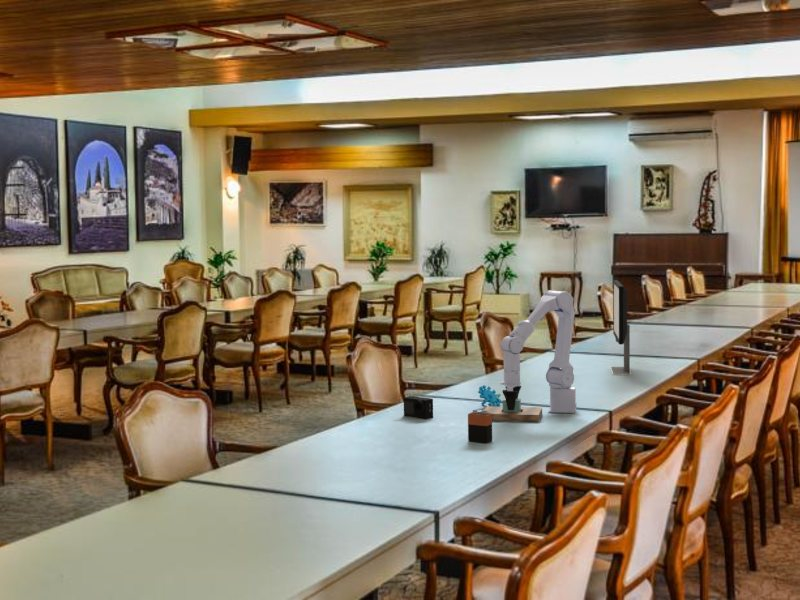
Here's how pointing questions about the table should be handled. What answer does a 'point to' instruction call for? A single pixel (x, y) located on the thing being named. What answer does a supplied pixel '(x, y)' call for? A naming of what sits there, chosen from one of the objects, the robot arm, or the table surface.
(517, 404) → the teal striped block
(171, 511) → the table surface
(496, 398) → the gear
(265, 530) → the table surface
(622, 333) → the computer monitor
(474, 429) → the battery
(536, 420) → the keyed socket
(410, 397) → the digital camera
